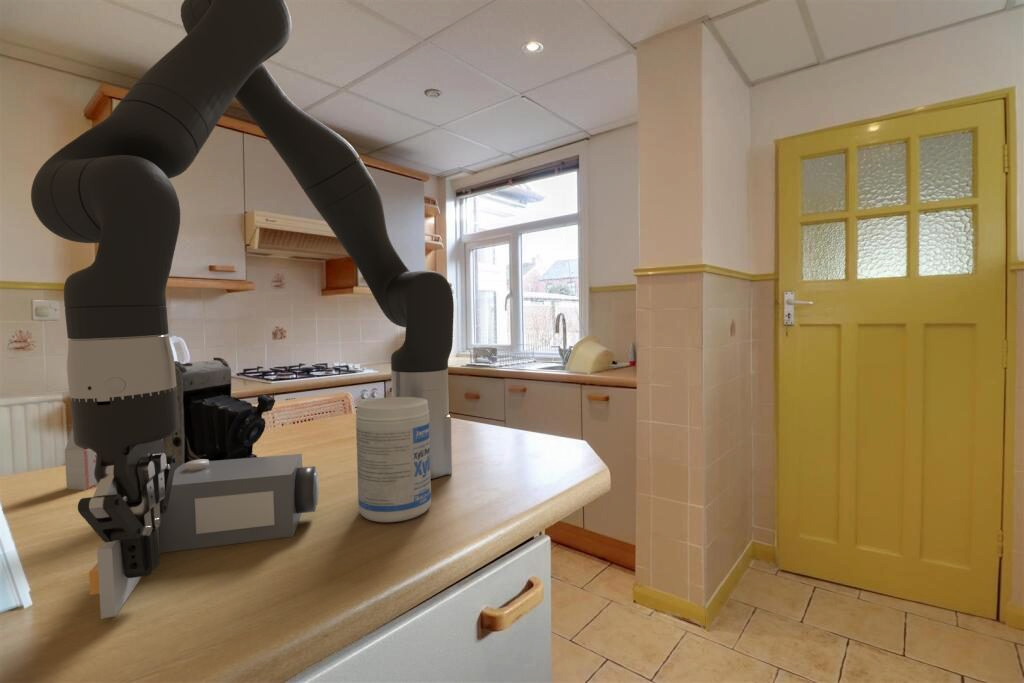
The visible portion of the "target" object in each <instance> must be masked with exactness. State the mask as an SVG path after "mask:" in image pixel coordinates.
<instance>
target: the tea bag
mask: <svg viewBox="0 0 1024 683" xmlns="http://www.w3.org/2000/svg"><path fill="white" fill-rule="evenodd" d="M96 456H97V454H96V453H95V452H94V451H93V450H91V449H83V448H80V447H78V446H77V445H76V444H75V443H74V437H73V427H72V426H71V431H70V434H69V437H68V440H67V443H66V445H65V449H64V461H65V462H64V463H65V479H66V481H65V482H66V489H69V490H84V491H88V490H90V489H93V487H94V488H97V487H96V486H97V481H96V479H95V476H94V470H95V464H96Z"/></svg>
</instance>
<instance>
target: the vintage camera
mask: <svg viewBox="0 0 1024 683" xmlns="http://www.w3.org/2000/svg"><path fill="white" fill-rule="evenodd" d="M174 362H175V374H176V385H177V397H178V409H179V421H180V428H179V430H178V431H177V432H176V433H175V434H173V435H171V436H169V437H167V438H164V439H162V442H163V445H164V451H163V453H165V455H174V454H175V455H176V458H177V462H176V467H175V469H177V468H178V467H179V466H181V465H182V464H183V463H187V462H189V461H193V460H199V459H208V460H209V461H217V460H230V459H242V458H255V457H258V455H257V454H254V453H253V449H254V448H253V447H254V444H256V443H257V442H258V441H259V440H260V438H261V437H262V435H263V433H264V432H265V429H266V420H265V418H263V414H264V413H266V412H267V413H268V412H271V411H272V410H273V408H274V406H275V404H276V399H275V398H274V397H272V396H270V395H267V394H263V395H258V396H257V406H256V405H253V404H252V403H251V402H249V401H246V400H242V399H239V398H237V397H235V396H232V367H231V366H230V365H229V363H228V361H226V360H225V359H224V358H222V357H213V359H212V360H204V361H195V362H185V363H181V362H180V361H176V360H174Z"/></svg>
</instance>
